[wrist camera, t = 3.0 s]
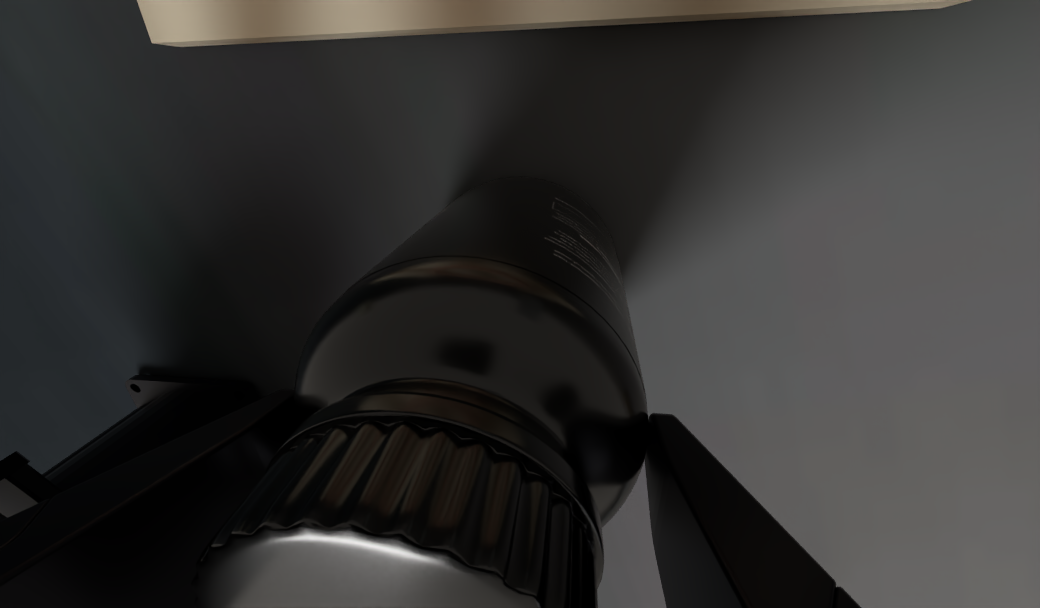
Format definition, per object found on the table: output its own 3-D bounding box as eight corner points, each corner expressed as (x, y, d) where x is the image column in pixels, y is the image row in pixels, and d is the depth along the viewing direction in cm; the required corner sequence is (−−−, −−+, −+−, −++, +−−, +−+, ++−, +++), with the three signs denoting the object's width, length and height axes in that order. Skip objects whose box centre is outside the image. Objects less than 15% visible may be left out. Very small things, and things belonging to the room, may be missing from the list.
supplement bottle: (412, 186, 14) (-60, 428, 4) (612, 161, 13) (742, 409, 3) (453, 353, 17) (249, 758, 7) (620, 344, 16) (699, 822, 5)
